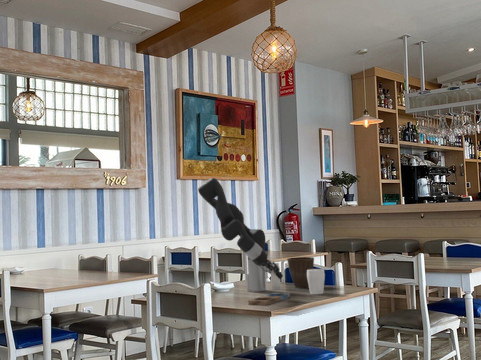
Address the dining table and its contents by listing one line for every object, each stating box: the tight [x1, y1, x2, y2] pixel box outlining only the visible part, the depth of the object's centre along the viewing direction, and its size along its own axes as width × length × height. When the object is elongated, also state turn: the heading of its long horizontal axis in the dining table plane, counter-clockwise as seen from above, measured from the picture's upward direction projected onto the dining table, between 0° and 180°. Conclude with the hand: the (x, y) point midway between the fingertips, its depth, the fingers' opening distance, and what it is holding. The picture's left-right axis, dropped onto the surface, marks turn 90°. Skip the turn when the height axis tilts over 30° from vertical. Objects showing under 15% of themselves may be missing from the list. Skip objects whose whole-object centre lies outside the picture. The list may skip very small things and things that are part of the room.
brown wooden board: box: [247, 292, 291, 306], centre depth 279 cm, size 9×26×2 cm, turn 151°
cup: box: [307, 268, 326, 295], centre depth 301 cm, size 9×9×12 cm
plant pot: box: [286, 256, 315, 289], centre depth 329 cm, size 15×15×16 cm
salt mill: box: [270, 262, 282, 291], centre depth 285 cm, size 4×4×13 cm
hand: (278, 276), depth 286 cm, fingers closed on salt mill, 4 cm apart
